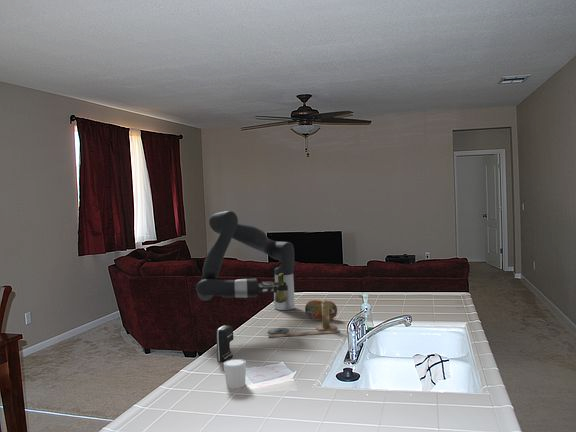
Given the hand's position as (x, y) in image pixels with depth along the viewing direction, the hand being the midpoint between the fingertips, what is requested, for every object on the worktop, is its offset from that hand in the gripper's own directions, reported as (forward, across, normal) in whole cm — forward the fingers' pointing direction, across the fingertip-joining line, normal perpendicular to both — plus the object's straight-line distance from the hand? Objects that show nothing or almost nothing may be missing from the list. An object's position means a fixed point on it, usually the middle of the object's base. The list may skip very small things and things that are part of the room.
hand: (286, 286), depth 213 cm
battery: (-25, -30, +20) cm, 44 cm away
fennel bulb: (-2, 0, +7) cm, 7 cm away
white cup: (-21, -56, +20) cm, 63 cm away
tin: (+17, +17, +19) cm, 30 cm away
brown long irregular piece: (+6, -2, +19) cm, 20 cm away
